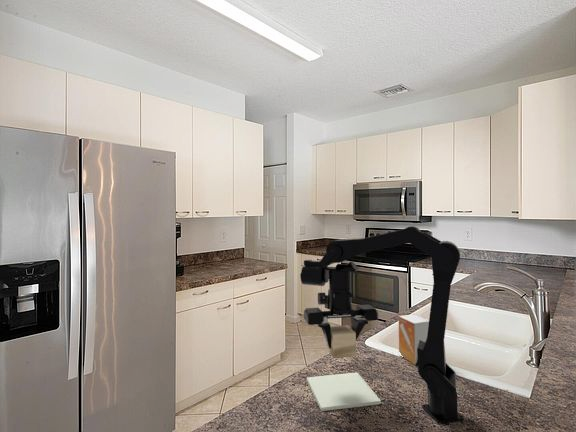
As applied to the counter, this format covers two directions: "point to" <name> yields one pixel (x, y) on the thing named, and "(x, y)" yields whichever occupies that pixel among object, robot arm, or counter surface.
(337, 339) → the maple cube
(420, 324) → the small box
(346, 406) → the sage mat
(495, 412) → the counter surface
